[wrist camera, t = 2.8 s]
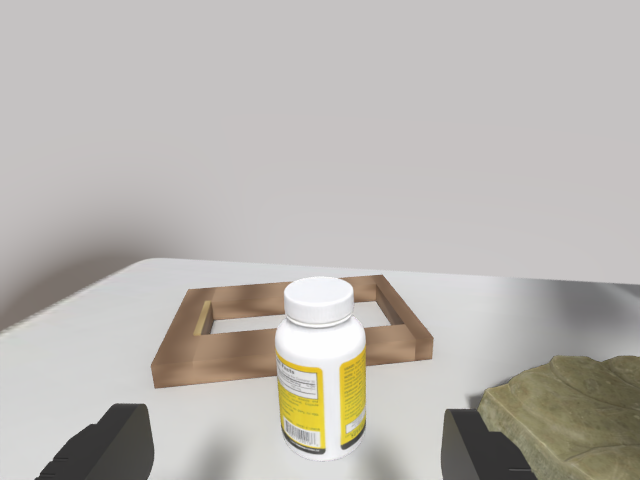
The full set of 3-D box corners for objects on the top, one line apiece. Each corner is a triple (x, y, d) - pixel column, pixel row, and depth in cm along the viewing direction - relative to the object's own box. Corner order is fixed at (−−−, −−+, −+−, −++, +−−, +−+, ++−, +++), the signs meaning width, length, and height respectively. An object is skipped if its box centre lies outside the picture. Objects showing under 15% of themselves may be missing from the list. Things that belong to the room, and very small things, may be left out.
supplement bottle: (353, 395, 27) (354, 268, 24) (376, 457, 22) (380, 305, 19) (278, 405, 26) (269, 275, 23) (284, 472, 21) (273, 315, 18)
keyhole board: (382, 290, 44) (382, 273, 44) (432, 359, 31) (433, 335, 30) (190, 306, 42) (188, 287, 41) (154, 388, 28) (150, 363, 28)
